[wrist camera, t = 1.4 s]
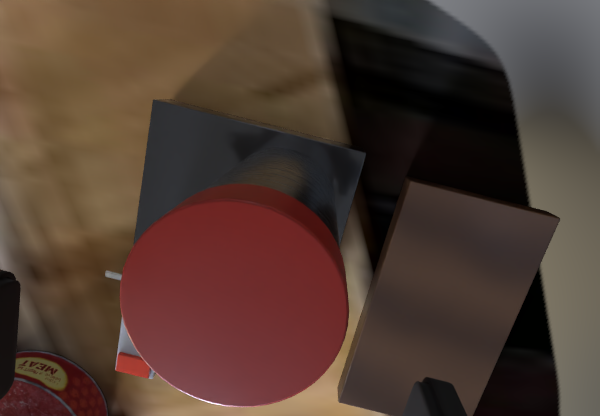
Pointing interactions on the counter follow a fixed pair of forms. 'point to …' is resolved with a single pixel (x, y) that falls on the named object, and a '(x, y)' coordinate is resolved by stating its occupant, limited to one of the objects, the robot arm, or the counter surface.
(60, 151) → the counter surface
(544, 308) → the counter surface
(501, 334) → the board
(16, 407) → the canned food
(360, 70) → the counter surface
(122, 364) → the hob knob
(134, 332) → the jar with red lid
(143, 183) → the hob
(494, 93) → the counter surface
